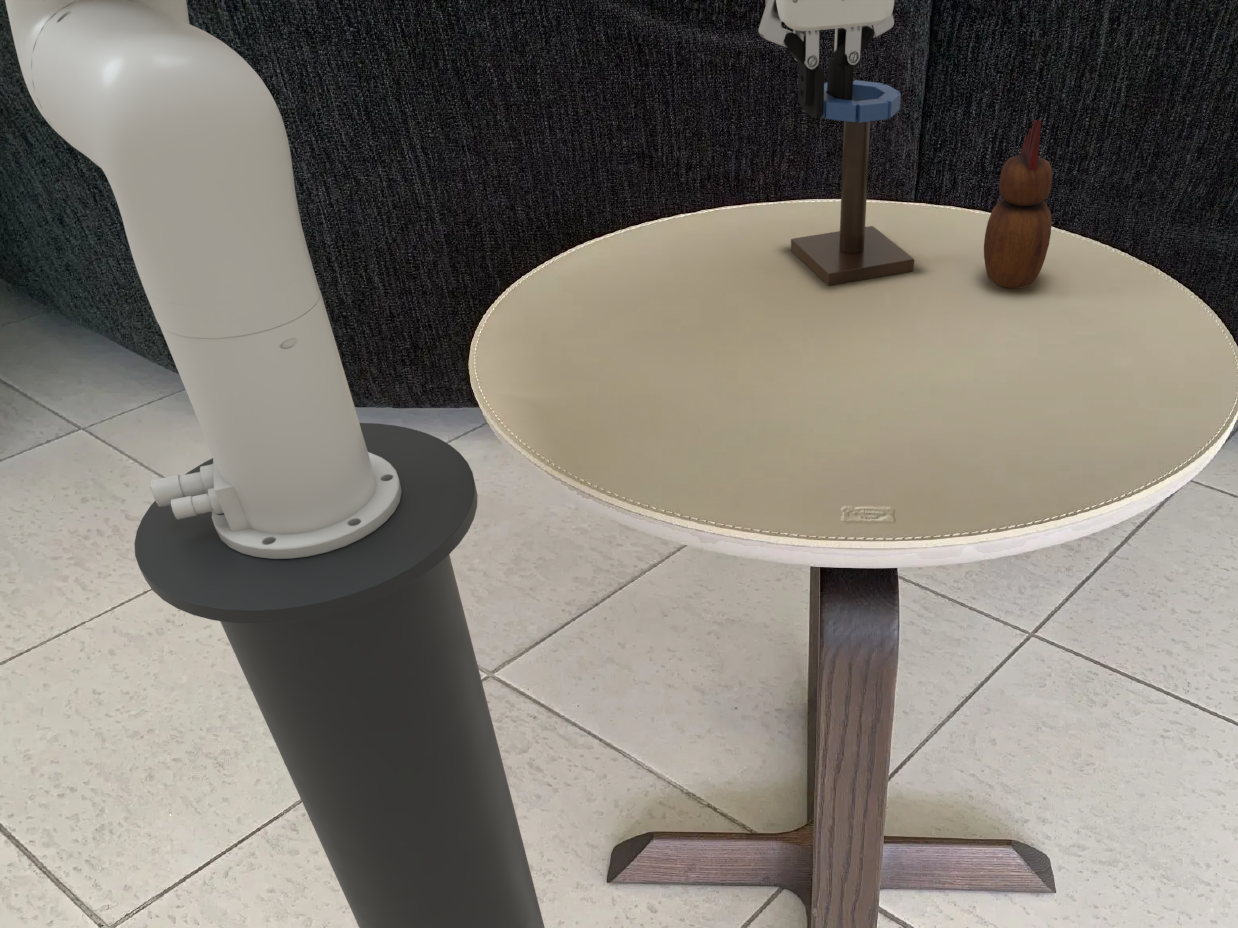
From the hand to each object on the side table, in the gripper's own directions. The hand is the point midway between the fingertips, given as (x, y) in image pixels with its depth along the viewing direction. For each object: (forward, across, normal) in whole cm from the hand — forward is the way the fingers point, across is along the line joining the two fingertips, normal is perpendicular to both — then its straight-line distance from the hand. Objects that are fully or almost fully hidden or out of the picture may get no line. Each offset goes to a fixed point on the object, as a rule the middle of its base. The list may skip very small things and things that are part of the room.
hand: (825, 110), depth 94 cm
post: (+14, +3, 0) cm, 15 cm away
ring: (0, +3, 0) cm, 3 cm away
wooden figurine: (+14, +15, -10) cm, 23 cm away
